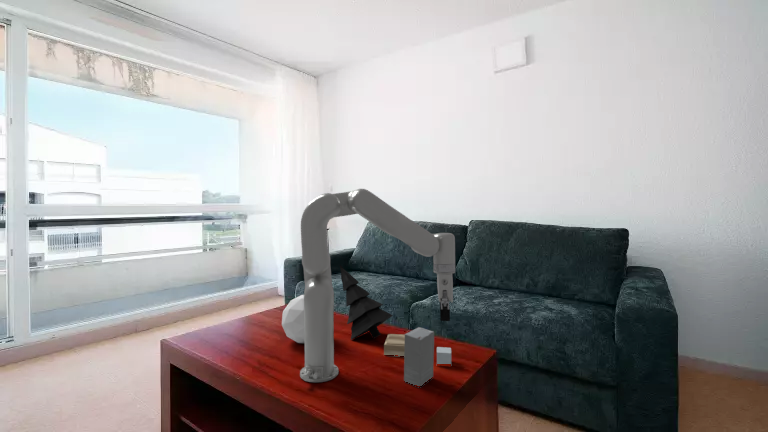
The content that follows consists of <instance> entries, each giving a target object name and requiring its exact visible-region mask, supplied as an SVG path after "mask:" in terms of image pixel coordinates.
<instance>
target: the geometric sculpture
mask: <svg viewBox="0 0 768 432" xmlns="http://www.w3.org/2000/svg"><path fill="white" fill-rule="evenodd" d="M281 316H282V317H281V326H282V329H283V331H284V333H285V335H286V337H287V338H289V339H291V340H292V341H294V342H296V343H297V344H305V329H304V294H300V295H299V296H297V297H295V298H293V299H291V300H290V301H289V302H288V304H287V306H286V307H285V308H284V309H283V311H282V315H281Z"/></svg>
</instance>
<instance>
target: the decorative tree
mask: <svg viewBox="0 0 768 432" xmlns="http://www.w3.org/2000/svg"><path fill="white" fill-rule="evenodd" d="M339 268H340V279H341V283H342V290H343V292H345V298H346V299H345V300H346V302H345V303H346V307H349V309H348V318H347V323H346V325H349V324H351V329H350V330H351V335H350V341H352V340H355V339H357V338H359V337H361V336H363V335H364V333H365V334H367V333H370V335H371V337H372V339H373V340H374V339H376V338H377V337H379V336H382V335H381V332H380V330H379V329H378V327H379V326H380V325H381V324H383V323H384V322H386V321H387V320H389V319H390V318H391V317H393V314H391V313H389V312H387V311H385V310H383V309H382V308H381V307H382V306H383V305H384V304H383V303H381V302H379V301H377V300H375V299H374V298H371V297H369V295H370V292H368V291H367V290H366V289H365V288H363V287H362V286H360V285H358V283H360V281H358V280H357V279H356V278H355V277H354V276H353V275H352V274H351V273H350V272H348V271H347V270H345V269H344V266H342V265H341V264H339ZM368 331H369V332H368ZM366 332H367V333H366ZM358 336H359V337H358ZM356 337H357V338H356ZM354 338H355V339H354Z"/></svg>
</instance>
